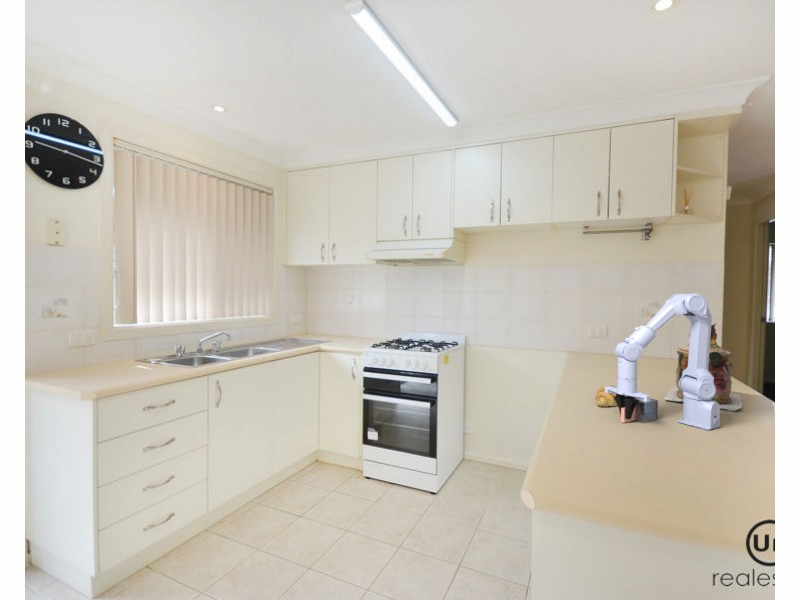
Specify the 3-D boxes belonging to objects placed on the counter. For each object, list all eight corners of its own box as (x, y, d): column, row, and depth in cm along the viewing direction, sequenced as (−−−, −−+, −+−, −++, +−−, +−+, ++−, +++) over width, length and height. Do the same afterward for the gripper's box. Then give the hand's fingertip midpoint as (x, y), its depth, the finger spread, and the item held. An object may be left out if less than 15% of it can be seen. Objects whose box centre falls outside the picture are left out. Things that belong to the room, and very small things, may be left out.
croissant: (607, 418, 151) (618, 402, 148) (583, 401, 157) (593, 385, 154) (625, 406, 166) (635, 391, 163) (602, 391, 172) (612, 376, 169)
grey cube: (657, 419, 139) (657, 400, 139) (643, 423, 135) (644, 403, 135) (637, 414, 145) (638, 395, 145) (624, 417, 141) (624, 398, 141)
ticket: (646, 417, 141) (646, 403, 141) (623, 422, 135) (624, 408, 135) (643, 416, 142) (643, 403, 142) (620, 422, 136) (621, 407, 135)
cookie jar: (670, 390, 182) (671, 319, 181) (741, 400, 166) (743, 323, 166) (663, 401, 163) (665, 322, 162) (743, 413, 147) (745, 326, 147)
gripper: (599, 375, 140) (598, 413, 141) (641, 383, 127) (640, 426, 128) (612, 373, 144) (611, 411, 144) (654, 381, 131) (653, 422, 131)
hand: (626, 418), depth 136 cm, fingers closed
